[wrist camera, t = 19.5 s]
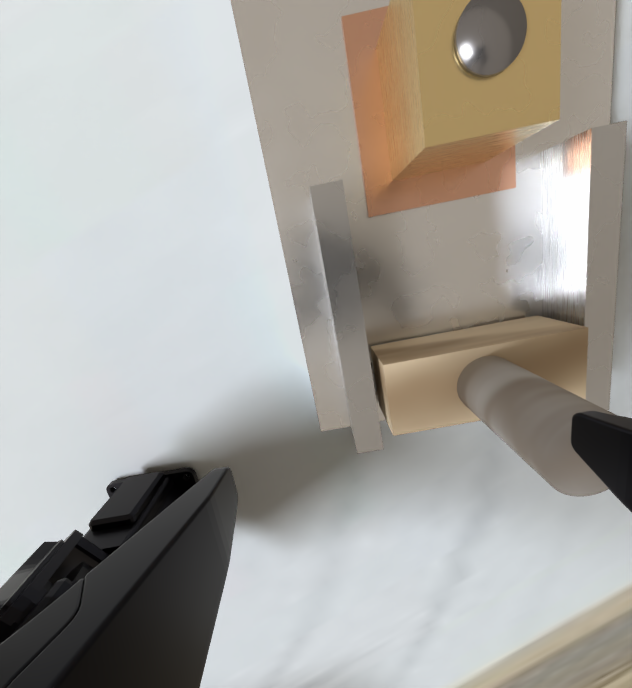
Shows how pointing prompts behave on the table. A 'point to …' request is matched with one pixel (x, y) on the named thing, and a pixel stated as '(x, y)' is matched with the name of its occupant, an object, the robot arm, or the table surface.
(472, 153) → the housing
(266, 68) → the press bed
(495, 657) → the table surface
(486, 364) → the ram
